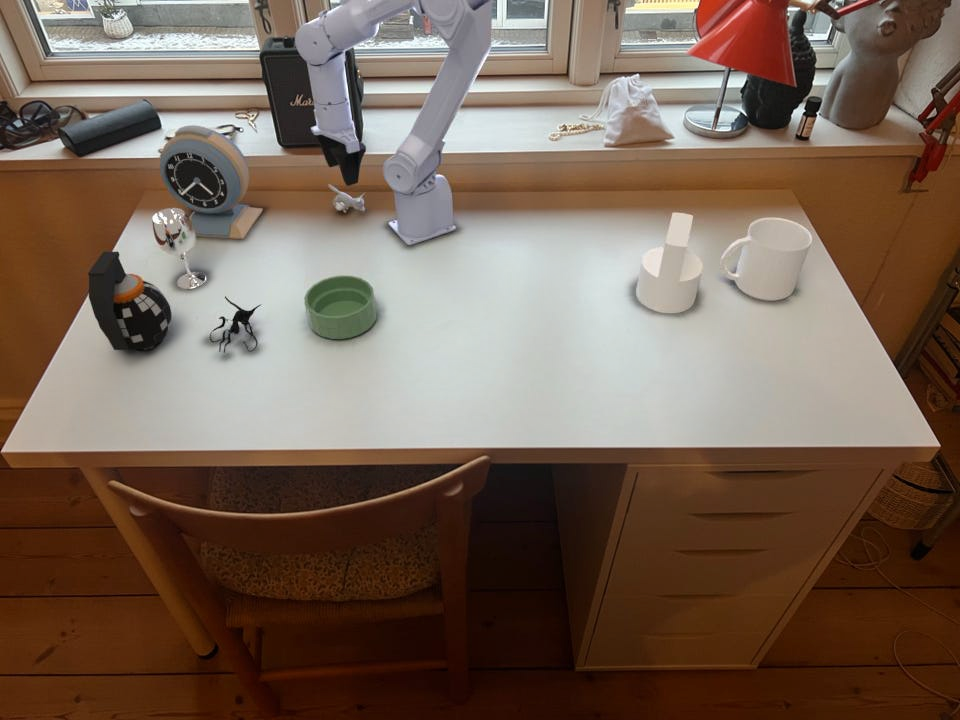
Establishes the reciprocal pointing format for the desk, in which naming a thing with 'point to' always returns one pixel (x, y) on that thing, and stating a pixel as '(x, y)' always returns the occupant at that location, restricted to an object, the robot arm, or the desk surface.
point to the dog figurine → (347, 201)
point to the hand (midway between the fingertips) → (343, 174)
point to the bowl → (340, 307)
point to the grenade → (127, 306)
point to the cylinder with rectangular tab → (670, 271)
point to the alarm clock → (209, 181)
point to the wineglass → (177, 241)
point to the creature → (238, 317)
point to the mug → (769, 258)
